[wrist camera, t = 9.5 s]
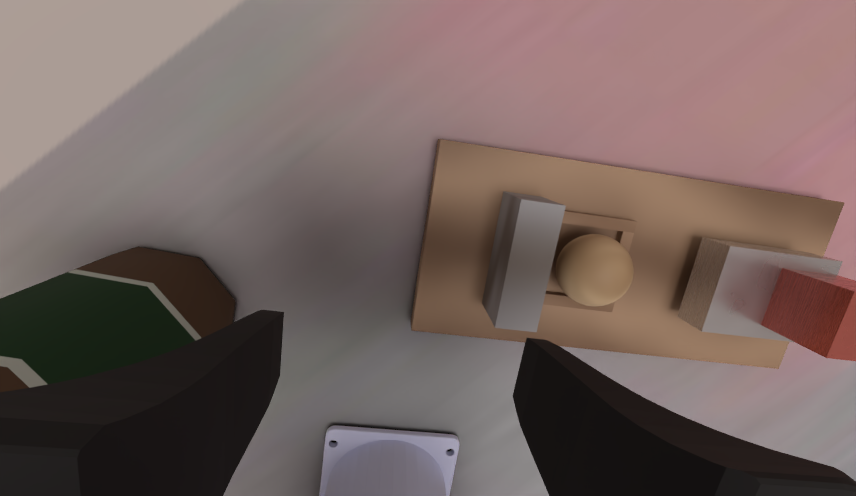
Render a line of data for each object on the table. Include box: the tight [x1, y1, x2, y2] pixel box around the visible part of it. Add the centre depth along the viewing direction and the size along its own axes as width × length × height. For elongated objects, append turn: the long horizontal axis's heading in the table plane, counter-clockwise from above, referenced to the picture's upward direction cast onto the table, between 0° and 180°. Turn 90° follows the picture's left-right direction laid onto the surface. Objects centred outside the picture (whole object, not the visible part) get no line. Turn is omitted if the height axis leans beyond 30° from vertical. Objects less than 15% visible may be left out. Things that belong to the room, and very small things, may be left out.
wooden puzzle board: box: [411, 139, 844, 369], centre depth 21 cm, size 10×22×4 cm, turn 81°
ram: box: [677, 238, 856, 361], centre depth 19 cm, size 4×6×5 cm
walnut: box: [556, 234, 634, 306], centre depth 20 cm, size 4×4×4 cm
